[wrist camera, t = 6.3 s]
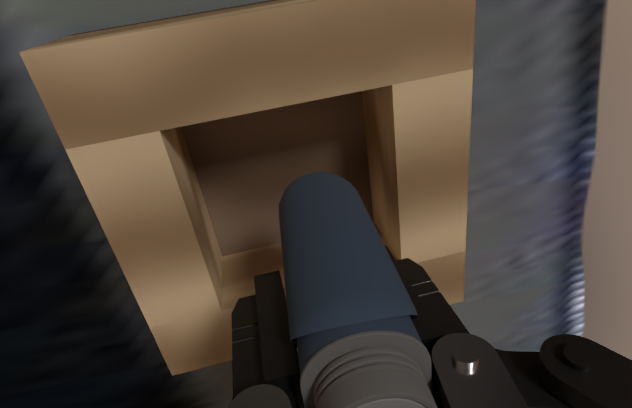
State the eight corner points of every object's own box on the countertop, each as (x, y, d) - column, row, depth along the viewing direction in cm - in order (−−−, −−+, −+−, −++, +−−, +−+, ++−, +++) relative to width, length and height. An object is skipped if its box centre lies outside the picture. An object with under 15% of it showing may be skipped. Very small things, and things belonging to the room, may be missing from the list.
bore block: (74, 34, 16) (18, 52, 12) (414, -25, 18) (476, -28, 13) (182, 301, 23) (172, 375, 19) (420, 244, 24) (463, 300, 20)
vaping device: (296, 298, 16) (379, 960, 5) (271, 171, 13) (327, 944, 2) (364, 286, 16) (585, 903, 5) (351, 157, 13) (733, 839, 3)
